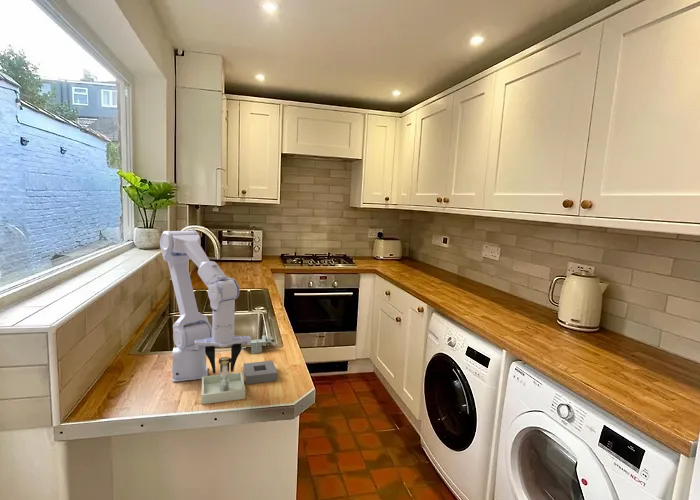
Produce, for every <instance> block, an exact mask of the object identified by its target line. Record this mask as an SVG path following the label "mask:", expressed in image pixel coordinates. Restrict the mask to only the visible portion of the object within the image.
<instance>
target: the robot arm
mask: <svg viewBox="0 0 700 500" xmlns="http://www.w3.org/2000/svg"><path fill="white" fill-rule="evenodd" d="M201 242H202V241H201V236H200V235H199V232H197V231H196V230H195V229H191V230H172V231H170V230H165V231H163V232H162V234H161V236H160V240H159V247H160V251H161V255H162V256H161V257H162V258H163V261H164V262H167V264H168V269H169V273H170V278H171V281H172V286H173V289H174V295H175V299H176V303H177V307H178V312H179V317H178V318H177V320H176V321H175V322H174V323H173V325H172V329H173V330H172V332H173V335H172V336H173V337H172V338H173V342H174V343H173V344H174V345H175V347H173V348H172V366H171V373H172V382H173V383H176V382H183V381H184V382H185V381H193V380H202V376H209V375H208V374H209V371H208V368H209V367H208V365H207V359H208V360H209V363H210V366H211V369H212V375H217V373H216V369H217V368H216V348H224V347H226V348H227V347H229V346H230V350H231V351H230V358H231V362H230V364H229V370H230V372H231V373H234V370H235V365H236V362H237V360H238V358H239V355H240V354H241V351H242V345H247V346H250V345H251V340H252V337H251V335H235V323H236V322H235V318H236V317H235V316H236V315H235V310H236V309H235V307H236V305H235V304H236V303H235V301H236V299H238V298H239V296H240V286H239V284H238V282H237V280H236V278H232V277H230V276H227V275H226V274H225V273H224V271H223V270H222V268H221V267H220V266H219V264H218V263H217V262H216V261H213V260H210V259H209V257H208V255H207V253H206V252H205V251H204V249H203V247H202V246H201V244H202V243H201ZM190 260H191V261H192V262H193V263H194V264H195V265H196V267H197V268H198V270H197V275H198V276H199V278H200V279H201V281H202V282H203V283H204V285H205V286H206V287H207V289H208V290H207V296H208V298H209V304H210V309H212V314H211V315H212V320H211V321H212V324H210V322H209V319H208V316H207V315H205V314H203V313H201V312H199V308H198V305H197V301H196V297H195V296H196V295H195V291H194V288H193V285H192V280H191V276H190V272H189V267H188V261H190Z"/></svg>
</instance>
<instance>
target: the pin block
mask: <svg viewBox="0 0 700 500" xmlns="http://www.w3.org/2000/svg"><path fill="white" fill-rule="evenodd" d="M242 367H243V369H242V371H243V372H242V373H243V377H244V380H245V381H244V382H245V384H246V385H252V384H253V385H254V384H259V383H261V384H262V383H267V382H269V383H270V382H274V381H275V382H276V381H277V382H278V371H277V369H276V366H275V364H274V361H273V360H265V361H256V362H255V361H254V362H247V363H246V362H245V363H243V366H242Z"/></svg>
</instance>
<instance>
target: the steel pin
mask: <svg viewBox="0 0 700 500" xmlns="http://www.w3.org/2000/svg"><path fill="white" fill-rule="evenodd" d="M218 364H219V367H220V370H219V375H220V391H228V390H229V374H230V364H231V356H222V357H220V358H218Z"/></svg>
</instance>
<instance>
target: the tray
mask: <svg viewBox="0 0 700 500" xmlns="http://www.w3.org/2000/svg"><path fill="white" fill-rule="evenodd" d="M244 380H245V379H244V374H243V372H242V371H240V372H239V371H238V372H231V373H230V372H229V390H228V391H220V374H212V375H208V376H202V379H201V396H200V397H201V405H206V404H208V405H209V404H212V403H213V404H215V403H222V402H230V401H235V400H242V399H243V400H244V399H246V387H245V381H244Z"/></svg>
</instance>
